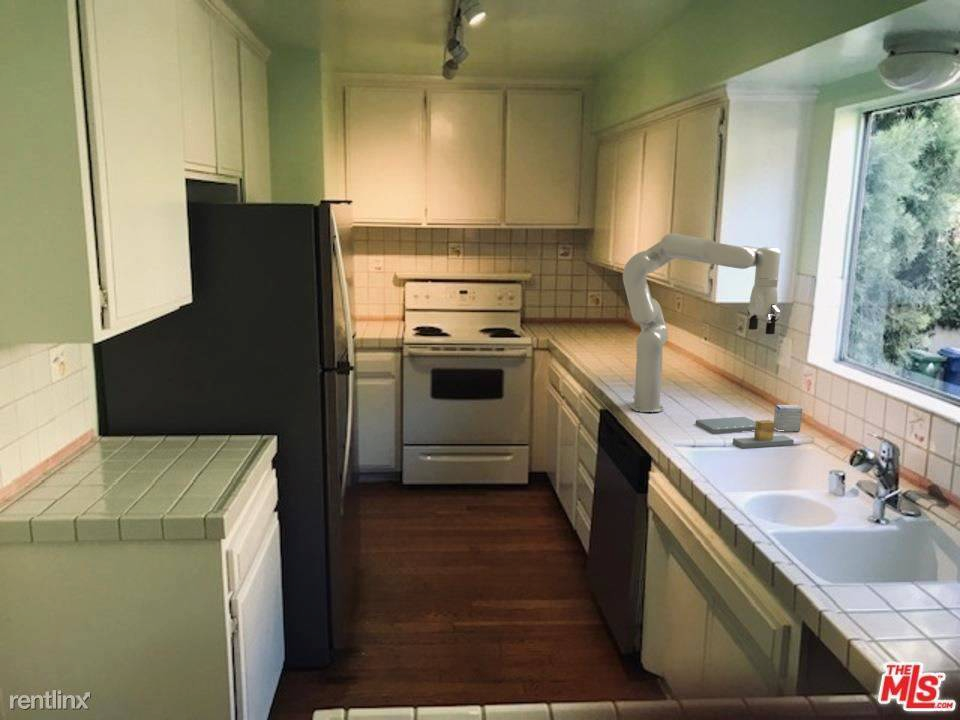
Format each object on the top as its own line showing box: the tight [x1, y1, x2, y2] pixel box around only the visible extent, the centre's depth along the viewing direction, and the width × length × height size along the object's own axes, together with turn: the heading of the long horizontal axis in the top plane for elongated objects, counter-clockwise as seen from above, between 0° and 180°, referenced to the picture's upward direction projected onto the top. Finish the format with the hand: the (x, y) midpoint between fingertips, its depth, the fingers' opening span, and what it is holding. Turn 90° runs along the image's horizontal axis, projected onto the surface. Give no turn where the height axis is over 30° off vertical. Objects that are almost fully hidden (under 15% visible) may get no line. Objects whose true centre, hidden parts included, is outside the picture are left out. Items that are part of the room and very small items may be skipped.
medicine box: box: [773, 404, 804, 432], centre depth 259 cm, size 8×4×9 cm, turn 92°
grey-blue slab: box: [732, 419, 795, 449], centre depth 243 cm, size 6×19×8 cm, turn 105°
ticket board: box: [695, 416, 756, 435], centre depth 261 cm, size 12×20×2 cm, turn 105°
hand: (761, 331), depth 261 cm, fingers open, 9 cm apart
